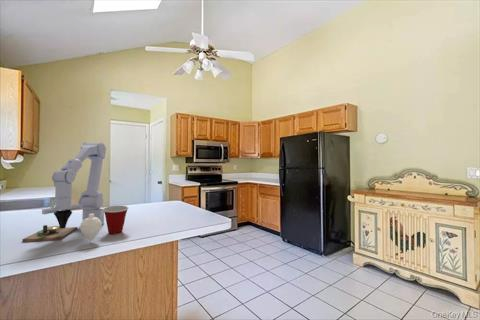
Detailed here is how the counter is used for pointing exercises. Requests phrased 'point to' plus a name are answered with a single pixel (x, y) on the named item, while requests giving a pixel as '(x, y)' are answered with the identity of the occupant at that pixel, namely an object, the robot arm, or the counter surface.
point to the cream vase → (91, 227)
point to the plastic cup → (115, 218)
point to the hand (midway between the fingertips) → (62, 227)
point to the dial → (50, 228)
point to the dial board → (50, 235)
